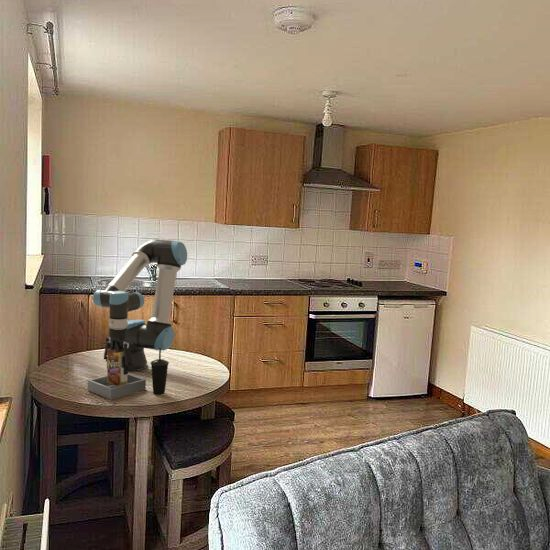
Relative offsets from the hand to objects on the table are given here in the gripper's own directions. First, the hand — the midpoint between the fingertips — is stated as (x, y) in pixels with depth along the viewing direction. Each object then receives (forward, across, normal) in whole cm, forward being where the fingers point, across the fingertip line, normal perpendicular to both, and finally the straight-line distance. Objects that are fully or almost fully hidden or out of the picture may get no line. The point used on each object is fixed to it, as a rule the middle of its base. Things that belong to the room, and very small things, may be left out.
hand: (117, 378), depth 232 cm
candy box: (+3, 0, 0) cm, 3 cm away
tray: (+5, 0, 0) cm, 5 cm away
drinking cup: (+5, +15, +10) cm, 19 cm away
